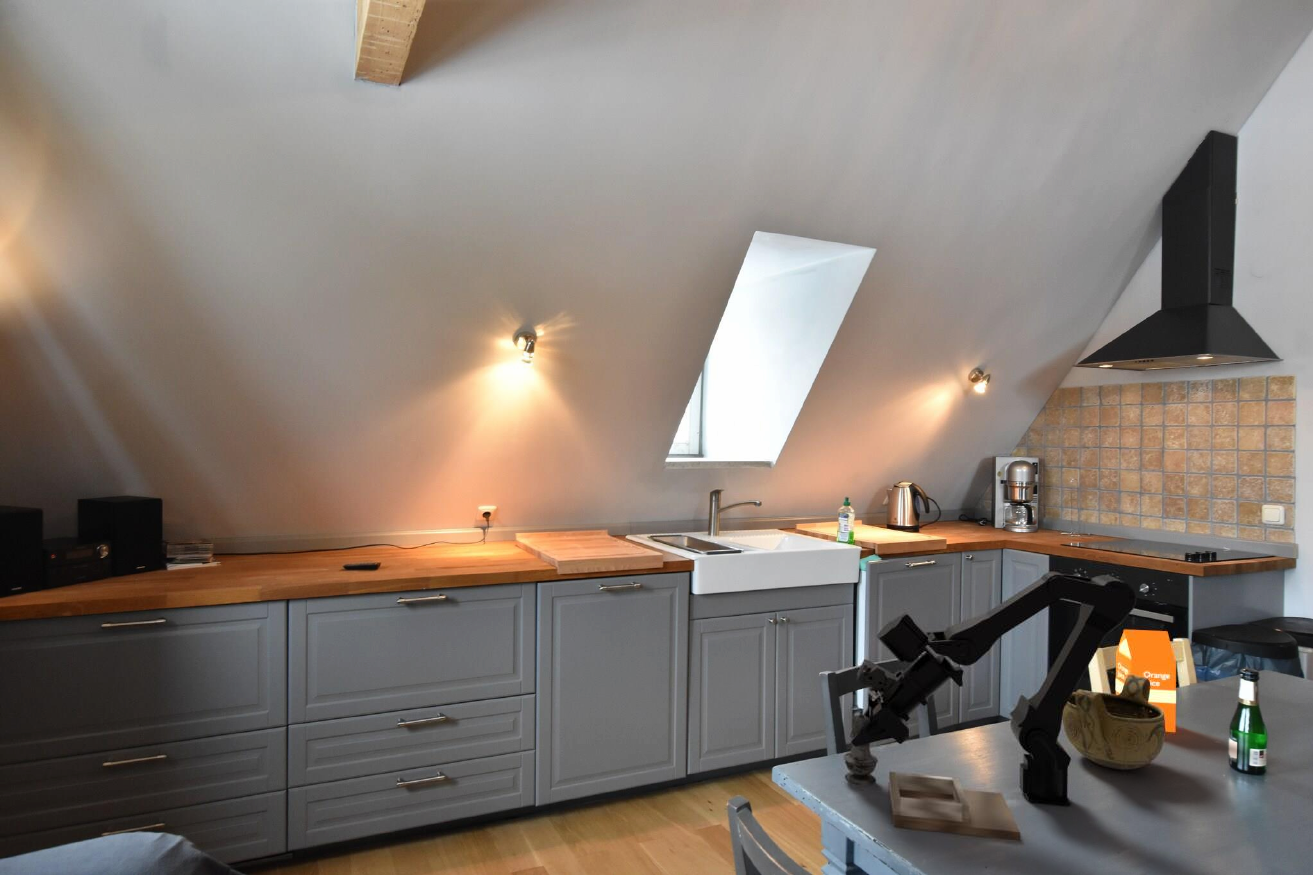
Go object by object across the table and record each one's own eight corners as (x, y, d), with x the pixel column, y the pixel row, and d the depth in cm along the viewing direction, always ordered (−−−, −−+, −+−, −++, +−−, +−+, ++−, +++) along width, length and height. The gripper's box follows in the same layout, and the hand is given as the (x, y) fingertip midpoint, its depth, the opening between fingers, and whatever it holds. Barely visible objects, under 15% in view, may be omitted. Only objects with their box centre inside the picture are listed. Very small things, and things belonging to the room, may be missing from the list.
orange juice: (1115, 717, 179) (1115, 625, 179) (1158, 720, 178) (1159, 627, 178) (1130, 729, 171) (1131, 633, 171) (1176, 732, 170) (1177, 635, 170)
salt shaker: (878, 787, 140) (879, 716, 141) (843, 783, 142) (844, 714, 142) (876, 773, 146) (877, 706, 146) (842, 770, 147) (843, 703, 148)
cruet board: (1001, 800, 136) (1001, 778, 136) (1020, 840, 122) (1020, 815, 122) (888, 789, 140) (888, 768, 140) (894, 826, 126) (894, 803, 126)
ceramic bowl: (1131, 793, 139) (1132, 704, 140) (1035, 761, 153) (1036, 680, 153) (1188, 764, 153) (1189, 683, 153) (1095, 737, 166) (1095, 663, 166)
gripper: (882, 634, 152) (820, 689, 155) (888, 660, 134) (819, 722, 136) (926, 680, 151) (863, 735, 153) (938, 712, 132) (867, 774, 135)
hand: (852, 740), depth 144 cm, fingers closed on salt shaker, 4 cm apart
